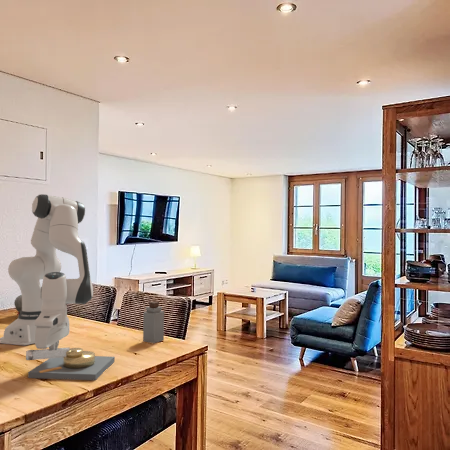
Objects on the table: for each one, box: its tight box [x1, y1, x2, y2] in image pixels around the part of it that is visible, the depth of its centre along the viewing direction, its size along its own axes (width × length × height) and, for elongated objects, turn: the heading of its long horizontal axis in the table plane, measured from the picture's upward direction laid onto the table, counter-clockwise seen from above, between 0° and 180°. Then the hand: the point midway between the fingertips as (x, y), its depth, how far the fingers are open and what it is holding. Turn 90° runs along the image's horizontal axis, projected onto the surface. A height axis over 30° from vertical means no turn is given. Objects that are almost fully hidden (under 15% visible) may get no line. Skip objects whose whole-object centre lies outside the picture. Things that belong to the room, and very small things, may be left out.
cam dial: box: [25, 346, 96, 368], centre depth 150 cm, size 24×11×6 cm, turn 108°
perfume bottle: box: [142, 301, 165, 344], centre depth 193 cm, size 7×7×18 cm
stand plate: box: [27, 355, 115, 381], centre depth 152 cm, size 24×20×2 cm
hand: (53, 353), depth 152 cm, fingers closed
